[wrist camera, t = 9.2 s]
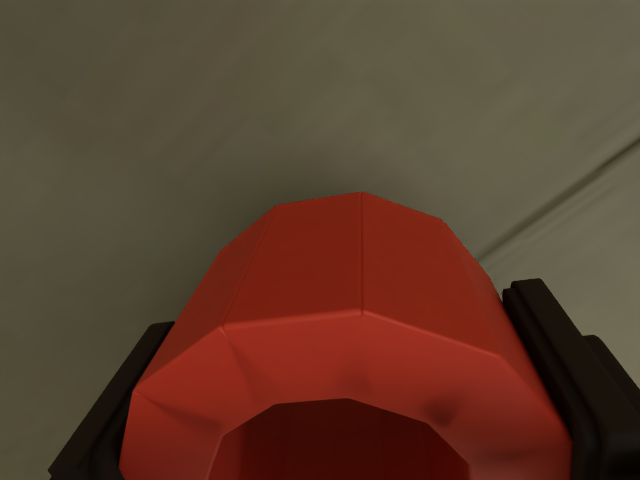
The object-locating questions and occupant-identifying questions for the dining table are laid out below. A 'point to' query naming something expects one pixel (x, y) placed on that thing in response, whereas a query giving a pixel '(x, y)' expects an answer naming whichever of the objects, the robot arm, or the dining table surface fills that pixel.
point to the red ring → (344, 361)
